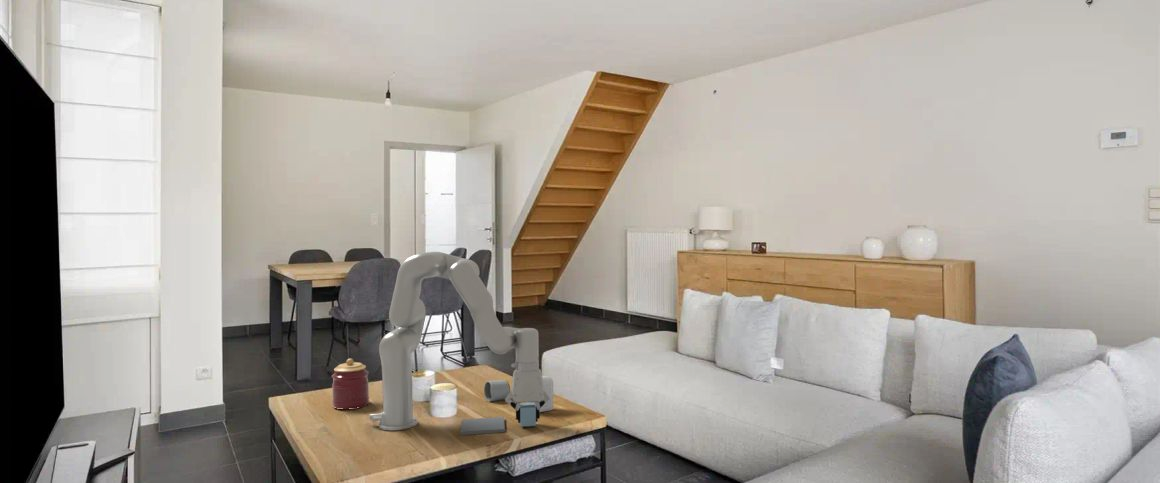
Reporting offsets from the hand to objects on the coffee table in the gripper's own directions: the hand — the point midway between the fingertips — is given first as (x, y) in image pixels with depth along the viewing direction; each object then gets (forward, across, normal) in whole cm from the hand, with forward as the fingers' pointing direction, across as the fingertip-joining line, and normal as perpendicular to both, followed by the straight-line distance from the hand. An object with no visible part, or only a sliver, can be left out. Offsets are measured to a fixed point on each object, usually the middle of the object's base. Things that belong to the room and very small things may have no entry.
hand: (527, 420), depth 206 cm
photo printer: (+2, +5, +16) cm, 17 cm away
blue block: (+1, 0, 0) cm, 1 cm away
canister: (+3, -64, +38) cm, 74 cm away
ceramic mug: (+2, -10, +35) cm, 37 cm away
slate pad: (+2, -15, +2) cm, 15 cm away
